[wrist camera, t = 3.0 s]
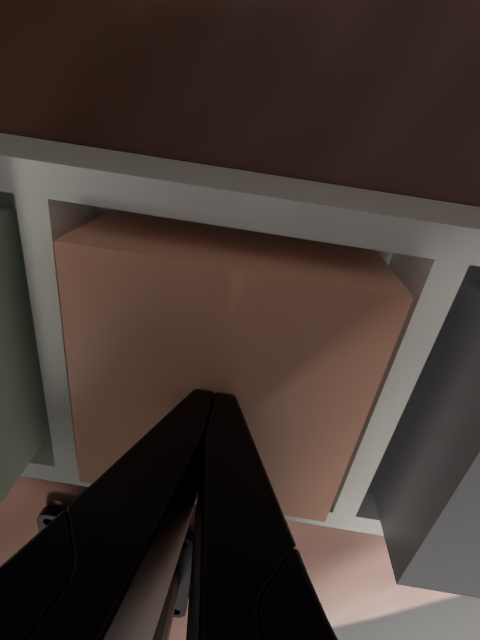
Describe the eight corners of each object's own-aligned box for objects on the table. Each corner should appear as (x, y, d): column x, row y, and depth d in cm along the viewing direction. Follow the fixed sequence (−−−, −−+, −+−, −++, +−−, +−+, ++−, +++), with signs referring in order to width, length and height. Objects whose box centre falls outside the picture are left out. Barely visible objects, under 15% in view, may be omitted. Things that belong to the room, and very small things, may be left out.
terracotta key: (315, 442, 11) (324, 521, 9) (118, 410, 11) (79, 481, 9) (377, 251, 8) (413, 297, 6) (112, 209, 8) (53, 240, 6)
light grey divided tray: (553, 480, 13) (627, 576, 10) (-111, 372, 13) (-211, 437, 10) (741, 247, 9) (946, 302, 6) (-218, 99, 9) (-426, 88, 6)
